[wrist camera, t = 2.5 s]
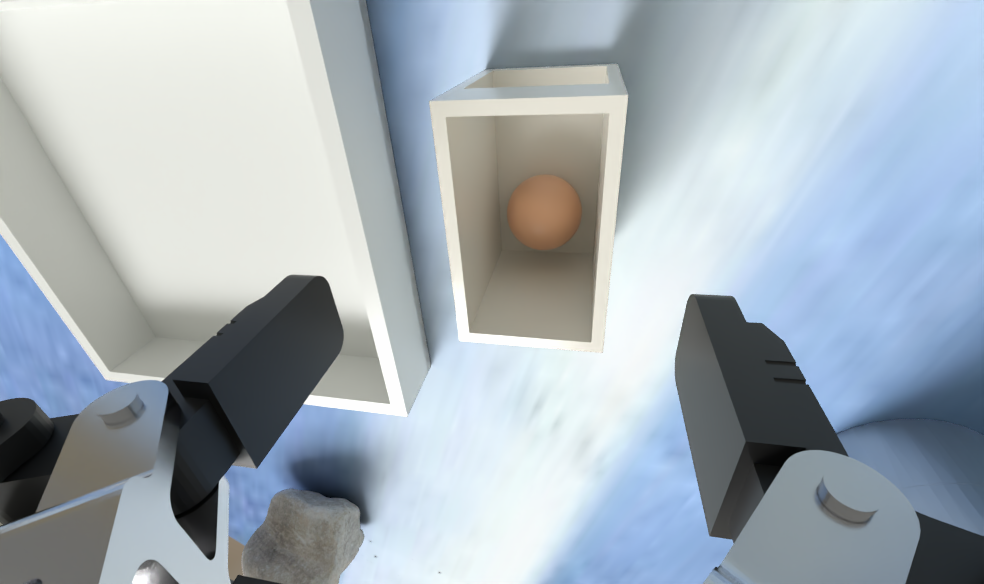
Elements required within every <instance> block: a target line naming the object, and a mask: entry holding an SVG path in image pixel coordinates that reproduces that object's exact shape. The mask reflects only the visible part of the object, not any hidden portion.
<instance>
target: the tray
mask: <svg viewBox="0 0 984 584" xmlns="http://www.w3.org/2000/svg"><path fill="white" fill-rule="evenodd" d="M0 234H1V235H2V237H3V238H4V239H5V241H6V242H7V243H8V245H9V246H10V248H11V249H12V250H13V252H14V253H15V255H16V256H17V257H18V259H19V260H20V261H21V263H22V264H23V266H24V267H25V268H26V270H27V271H28V273H29V274H30V275H31V277H32V278H33V280H34V281H35V282H36V284H37V285H38V286H39V288H40V289H41V291H42V292H43V293H44V295H45V296H46V298H47V299H48V300H49V302H50V303H51V304H52V306H53V307H54V309H55V310H56V311H57V313H58V314H59V316H60V317H61V318H62V320H63V321H64V322H65V324H66V325H67V327H68V328H69V329H70V331H71V332H72V334H73V335H74V336H75V338H76V339H77V340H78V342H79V343H80V345H81V346H82V347H83V349H84V350H85V352H86V353H87V354H88V356H89V357H90V358H91V360H92V361H93V363H94V364H95V365H96V367H97V368H98V370H99V371H100V372H101V374H102V375H103V376H104V378H105V379H106V380H110V381H119V382H127V383H133V382H137V381H143V380H157V381H163V380H164V379H165V378H166V377H167V376H168V375H169V374H170V373H172V372H173V371H174V370H175V369H176V368H177V367H178V366H179V365H181V364H182V363H183V362H184V361H185V360H186V359H187V358H189V357H190V356H191V355H192V354H193V353H194V352H195V351H196V350H198V349H199V348H200V347H201V346H202V345H203V344H204V343H206V342H207V341H208V340H209V339H210V338H211V337H212V336H216V335H217V332H218V331H219V330H220V329H221V328H222V327H224V326H225V325H226V324H227V323H228V324H230V322H231V321H230V320H232V319H233V318H234V317H235V316H236V315H237V314H238V313H239V312H241V311H242V310H243V309H244V308H245V307H246V306H248V305H250V304H251V303H253V302H255V301H257V300H259V299H260V298H262V297H264V296H265V295H266V294H268V293H269V292H270V291H271V290H272V289H273V288H274V287H275V286H276V285H277V284H279V283H280V282H281V281H282V280H283V279H284V278H285V277H287V276H288V275H314V276H323V277H324V278H326V280H327V281H328V283H329V285H330V288H331V291H332V295H333V298H334V301H335V304H336V307H337V311H338V314H339V317H340V320H341V323H342V327H343V331H344V340H343V345H342V349H341V351H340V353H339V355H338V356H337V358H336V359H335V360H334V362H333V363H332V365H331V366H330V367H329V369H328V370H327V372H326V373H325V374H324V376H323V377H322V379H321V380H320V381H319V383H318V384H317V385H316V387H315V388H314V390H313V391H312V392H311V394H310V395H309V397H308V398H307V399H306V401H305V402H304V404H308V405H316V406H324V407H332V408H340V409H349V410H357V411H365V412H373V413H382V414H390V415H398V416H406V417H408V414H409V412H410V410H411V408H412V406H413V404H414V402H415V399H416V397H417V395H418V393H419V391H420V389H421V386H422V384H423V382H424V380H425V378H426V376H427V374H428V371H429V369H430V367H431V363H430V358H429V352H428V347H427V341H426V335H425V330H424V324H423V318H422V313H421V307H420V302H419V296H418V290H417V285H416V279H415V273H414V268H413V262H412V257H411V251H410V245H409V240H408V234H407V229H406V223H405V217H404V212H403V206H402V200H401V195H400V189H399V184H398V178H397V172H396V167H395V161H394V155H393V150H392V144H391V139H390V133H389V127H388V122H387V116H386V111H385V105H384V99H383V94H382V88H381V82H380V77H379V71H378V66H377V60H376V54H375V49H374V43H373V37H372V32H371V26H370V21H369V15H368V9H367V4H366V0H0Z"/></svg>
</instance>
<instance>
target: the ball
mask: <svg viewBox="0 0 984 584" xmlns="http://www.w3.org/2000/svg"><path fill="white" fill-rule="evenodd" d="M581 217H582V206H581V202H580V198H579V196H578V194H577V192H576V190H575V189H574V188H573V187H572V186H571V185H570V184H569V183H568V182H567V181H565V180H564V179H562V178H560V177H557V176H554V175H547V174H544V175H536V176H533V177H530V178H528V179H526V180H525V181H523V182H522V183H521V184H520V185H518V187H517V188H516V189H515V190H514V192H513V193H512V195H511V197H510V199H509V202H508V206H507V220H508V224H509V227H510V229H511V231H512V233H513V234H514V236H515V237H516V238H517V239H518V240H519V241H520V242H521V243H522V244H524V245H526V246H527V247H530V248H532V249H537V250H551V249H555V248H558V247H560V246H562V245H564V244H565V243H566V242H568V241H569V240H570V239H571V238H572V237H573V236H574V234H575V233H576V231H577V229H578V227H579V225H580V222H581Z"/></svg>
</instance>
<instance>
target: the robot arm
mask: <svg viewBox="0 0 984 584" xmlns="http://www.w3.org/2000/svg"><path fill="white" fill-rule="evenodd" d="M230 321H231V322H230V324H228V323H227V324H226V325H225V326H224V327H222V328H221V329H220V330H219V331H218V332H217V335H216V336H212V337H211V338H210V339H209V340H208V341H207V342H206V343H204V344H203V345H202V346H201V347H200V348H199V349H198V350H196V351H195V352H194V353H193V354H192V355H191V356H190V357H189V358H187V359H186V360H185V361H184V362H183V363H182V364H181V365H179V366H178V367H177V368H176V369H175V370H174V371H173V372H172V373H170V374H169V375H168V376H167V377H166V378H165V379H164V380H163V381H157V380H143V381H137V382H133V383H130V384H127V385H124V386H121V387H119V388H116V389H114V390H112V391H110V392H108V393H106V394H104V395H103V396H101V397H99V398H98V399H96V400H95V401H94V402H92V403H91V404H90V405H88V406H87V407H86V408H85V409H84V410H83V411H82V412H81V413H80V414H76V415H69V416H63V417H56V418H49V417H48V416H47V415H46V414H45V413H44V412H43V411H42V410H41V408H40V407H39V406H38V405H37V404H36V403H35V402H34V401H33V400H31V399H28V398H15V399H9V400H4V401H1V402H0V522H1V523H2V524H3V525H1V526H0V584H231V583H230V579H229V574H228V523H229V483H228V480H227V478H226V477H225V475H224V474H225V473H226V472H227V471H228V469H229V468H230V467H231V465H235V466H242V467H249V468H255V469H257V468H258V466H259V465H260V464H261V462H262V461H263V459H264V458H265V457H266V455H267V454H268V452H269V451H270V450H271V448H272V447H273V446H274V444H275V443H276V441H277V440H278V439H279V437H280V436H281V434H282V433H283V432H284V430H285V429H286V427H287V426H288V425H289V423H290V422H291V420H292V419H293V418H294V416H295V415H296V413H297V412H298V411H299V409H300V408H301V406H302V405H303V404H304V402H305V401H306V399H307V398H308V397H309V395H310V394H311V392H312V391H313V390H314V388H315V387H316V385H317V384H318V383H319V381H320V380H321V379H322V377H323V376H324V374H325V373H326V372H327V370H328V369H329V367H330V366H331V365H332V363H333V362H334V360H335V359H336V358H337V356H338V355H339V353H340V351H341V349H342V345H343V340H344V331H343V327H342V323H341V320H340V317H339V314H338V311H337V307H336V304H335V301H334V298H333V295H332V291H331V288H330V285H329V283H328V281H327V280H326V278H324V277H323V276H314V275H288V276H287V277H285V278H284V279H283V280H282V281H281V282H280V283H279V284H277V285H276V286H275V287H274V288H273V289H272V290H271V291H270V292H269V293H268V294H266V295H265V296H264V297H262V298H260V299H259V300H257V301H255V302H253V303H251V304H250V305H248V306H246V307H245V308H244V309H243V310H242V311H241V312H239V313H238V314H237V315H236V316H235V317H234V318H233V319H232V320H230ZM675 380H676V386H677V390H678V395H679V399H680V404H681V409H682V413H683V418H684V422H685V427H686V431H687V436H688V440H689V445H690V450H691V454H692V459H693V463H694V468H695V472H696V477H697V481H698V486H699V491H700V495H701V500H702V504H703V509H704V513H705V518H706V522H707V527H708V532H709V536H712V537H719V538H726V539H733V543H734V544H733V546H732V547H731V549H730V551H729V552H728V554H727V555H726V557H725V559H724V560H723V562H722V563H721V564H720V566H719V567H718V568H717V567H715V568H714V569H713V571H712V572H711V573H710V574H709V576H708V577H707V579H706V580H705V582H704V583H703V584H984V436H983V435H982V434H980V433H978V432H976V431H974V430H972V429H969V428H967V427H965V426H961V425H957V424H954V423H950V422H946V421H939V420H929V419H894V420H886V421H879V422H873V423H869V424H865V425H861V426H857V427H853V428H850V429H848V430H845V431H843V432H840V433H838V434H836V433H835V431H834V429H833V427H832V426H831V424H830V422H829V420H828V418H827V417H826V415H825V413H824V411H823V410H822V408H821V406H820V404H819V403H818V401H817V399H816V397H815V395H814V394H813V392H812V390H811V388H810V387H809V385H806V383H805V382H806V379H805V378H804V376H803V374H802V372H801V371H800V369H799V367H797V366H796V362H795V360H794V358H793V356H792V355H791V353H790V351H789V349H788V348H787V346H786V344H785V342H784V341H783V340H782V339H780V338H779V337H778V336H777V335H776V334H774V333H773V332H772V331H771V330H770V329H768V328H767V327H766V326H765V325H764V324H762V323H749V322H746V320H745V318H744V316H743V314H742V312H741V310H740V308H739V306H738V304H737V302H736V300H735V298H734V297H733V296H720V295H698V294H691V295H690V297H689V299H688V301H687V305H686V310H685V314H684V319H683V323H682V328H681V333H680V337H679V342H678V347H677V351H676V358H675ZM233 584H282V583H277V582H272V581H267V580H262V579H257V578H252V577H247V576H241V575H238V576H237V578H236V579H235V581H234V582H233Z"/></svg>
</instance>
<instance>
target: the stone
mask: <svg viewBox="0 0 984 584" xmlns="http://www.w3.org/2000/svg"><path fill="white" fill-rule="evenodd" d="M359 519H360V510H359V508H358V507H357V506H356V505H355V504H353V503H351V502H350V501H348V500H347V499H343V498H328V497H325V496H323V495H321V494H320V493H317V492H313V491H308V490H297V489H286V490H282V491H281V492H278V493H276V494H275V495H274V497H273V498H272V499H271V503H270V506H269V508H268V514H267V517H266V519H265V521H264V523H263V524H262V525H261V526H260V527H259V528H258V529H257V530H256V531H255V532H254V534H253V535H252V536H251V538H250V539H249V541H248V542H247V544H246V546H245V548H244V550H243V553H242V570H243V576H247V577H252V578H257V579H262V580H267V581H272V582H277V583H282V584H338V583H339V578H340V575H341V573H342V572H343V571H344V570H345V569H346V568H347V567H348V565H349V564H350V563H351V562H352V560H353V559H354V557H355V556H356V554H357V553H358V551H359V547H361V545H362V543H363V540H364V534H363V531H362V530H361V529H360V521H359Z"/></svg>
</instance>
